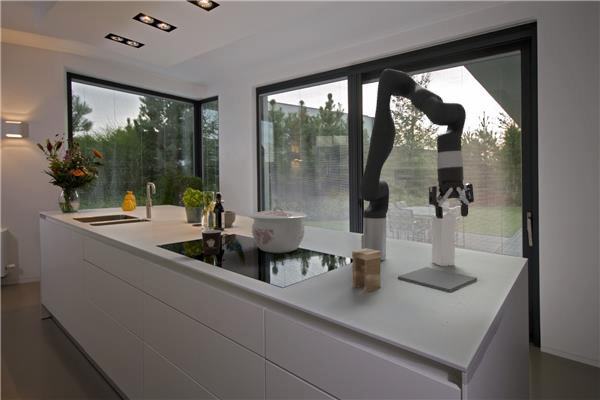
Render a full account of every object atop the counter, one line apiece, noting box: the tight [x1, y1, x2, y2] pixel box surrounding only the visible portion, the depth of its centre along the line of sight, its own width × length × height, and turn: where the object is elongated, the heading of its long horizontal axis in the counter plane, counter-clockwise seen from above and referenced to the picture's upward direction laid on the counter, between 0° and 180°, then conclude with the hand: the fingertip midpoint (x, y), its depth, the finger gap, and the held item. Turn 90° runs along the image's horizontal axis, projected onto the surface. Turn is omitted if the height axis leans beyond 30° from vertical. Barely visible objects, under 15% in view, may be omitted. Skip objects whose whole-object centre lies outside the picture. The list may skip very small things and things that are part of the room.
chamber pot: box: [248, 206, 309, 254], centre depth 162 cm, size 28×28×21 cm
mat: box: [397, 266, 478, 293], centre depth 115 cm, size 18×18×1 cm
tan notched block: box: [351, 248, 382, 293], centre depth 107 cm, size 6×6×11 cm
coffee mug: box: [201, 229, 231, 256], centre depth 156 cm, size 12×9×10 cm
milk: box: [431, 206, 457, 267], centre depth 135 cm, size 6×6×22 cm
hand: (452, 217), depth 110 cm, fingers open, 8 cm apart
